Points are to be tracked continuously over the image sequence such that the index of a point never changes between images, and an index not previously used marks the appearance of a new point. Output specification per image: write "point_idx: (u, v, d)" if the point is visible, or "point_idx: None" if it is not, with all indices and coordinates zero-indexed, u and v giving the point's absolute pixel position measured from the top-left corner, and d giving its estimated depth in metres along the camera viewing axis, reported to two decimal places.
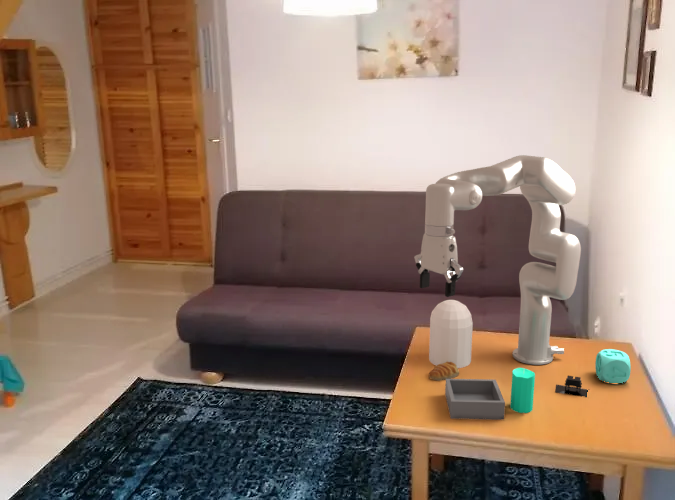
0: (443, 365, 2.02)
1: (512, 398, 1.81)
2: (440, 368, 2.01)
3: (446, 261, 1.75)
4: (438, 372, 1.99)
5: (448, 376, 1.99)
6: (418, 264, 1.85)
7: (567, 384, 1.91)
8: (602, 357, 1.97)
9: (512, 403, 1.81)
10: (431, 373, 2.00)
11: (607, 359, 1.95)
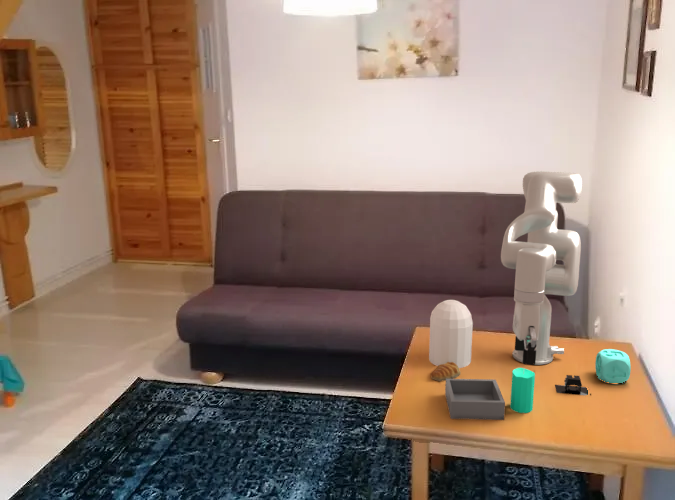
0: (444, 365, 2.02)
1: (512, 398, 1.81)
2: (441, 368, 2.00)
3: None
4: (440, 372, 1.99)
5: (450, 376, 1.99)
6: None
7: (568, 384, 1.91)
8: (602, 357, 1.97)
9: (512, 403, 1.81)
10: (433, 374, 2.00)
11: (607, 359, 1.95)
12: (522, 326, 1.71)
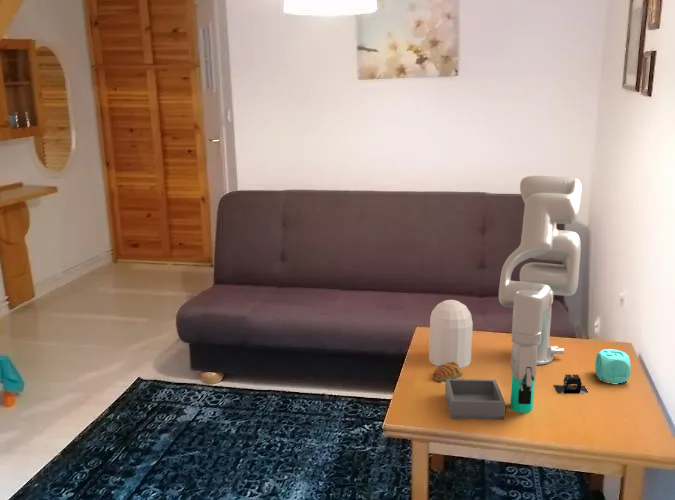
0: (446, 366, 2.01)
1: (512, 398, 1.81)
2: (443, 369, 2.00)
3: None
4: (441, 373, 1.99)
5: (451, 376, 1.99)
6: None
7: (568, 383, 1.91)
8: (602, 357, 1.97)
9: (512, 403, 1.81)
10: (434, 374, 1.99)
11: (607, 359, 1.95)
12: (519, 367, 1.74)
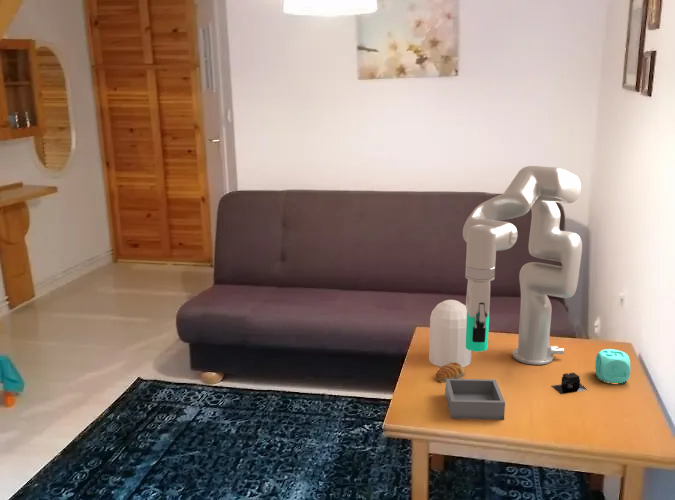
0: (448, 366, 2.01)
1: (467, 337, 1.77)
2: (446, 369, 2.00)
3: None
4: (445, 373, 1.98)
5: (454, 377, 1.99)
6: None
7: (569, 382, 1.92)
8: (602, 357, 1.97)
9: (467, 342, 1.77)
10: (438, 375, 1.99)
11: (607, 359, 1.95)
12: (472, 303, 1.71)
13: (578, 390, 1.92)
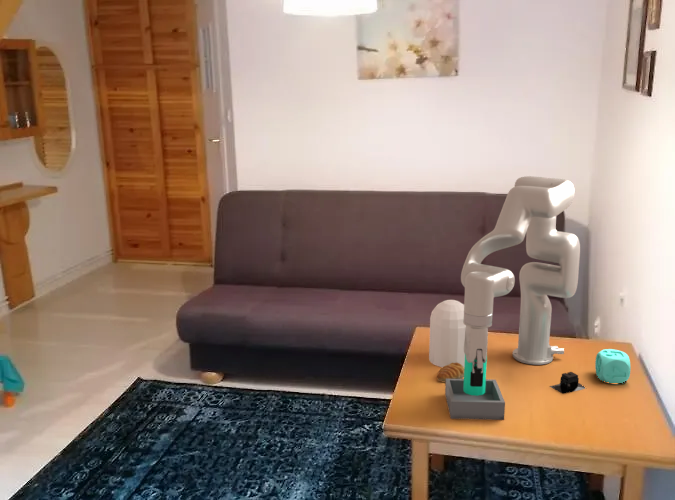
0: (450, 366, 2.01)
1: (464, 381, 1.80)
2: (447, 369, 2.00)
3: None
4: (447, 374, 1.98)
5: (456, 377, 1.99)
6: None
7: (569, 382, 1.92)
8: (602, 357, 1.97)
9: (464, 386, 1.80)
10: (439, 375, 1.99)
11: (607, 359, 1.95)
12: (470, 349, 1.74)
13: (577, 389, 1.93)
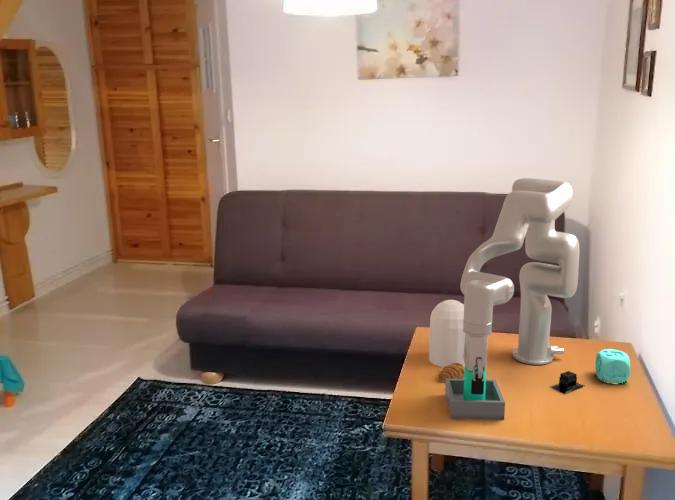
0: (451, 367, 2.01)
1: (464, 393, 1.81)
2: (449, 370, 1.99)
3: None
4: (448, 374, 1.98)
5: (458, 377, 1.99)
6: None
7: (568, 381, 1.92)
8: (602, 357, 1.97)
9: (464, 398, 1.82)
10: (441, 375, 1.98)
11: (607, 359, 1.95)
12: (470, 357, 1.74)
13: (576, 388, 1.94)
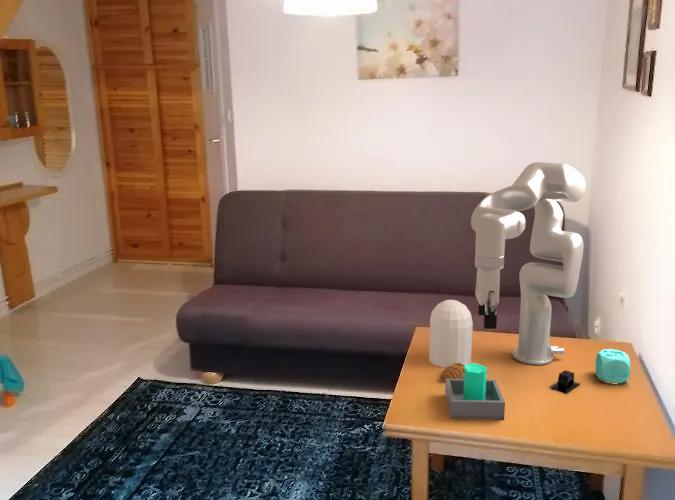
0: (453, 367, 2.01)
1: (464, 393, 1.81)
2: (451, 370, 1.99)
3: None
4: (450, 374, 1.98)
5: (460, 378, 1.98)
6: None
7: (568, 381, 1.93)
8: (602, 357, 1.97)
9: (464, 398, 1.82)
10: (443, 376, 1.98)
11: (607, 359, 1.95)
12: (482, 291, 1.73)
13: (574, 386, 1.95)
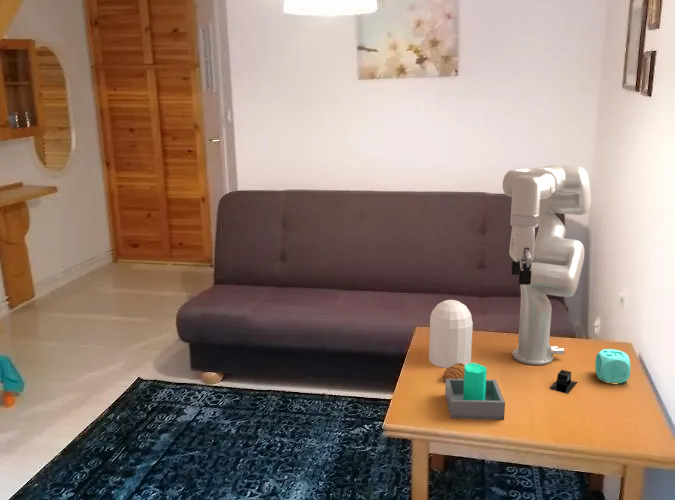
0: (455, 367, 2.00)
1: (464, 393, 1.81)
2: (453, 370, 1.99)
3: None
4: (452, 375, 1.97)
5: (462, 378, 1.98)
6: None
7: (567, 380, 1.93)
8: (602, 357, 1.97)
9: (464, 398, 1.82)
10: (445, 376, 1.98)
11: (607, 359, 1.95)
12: (518, 248, 1.82)
13: (572, 385, 1.95)
